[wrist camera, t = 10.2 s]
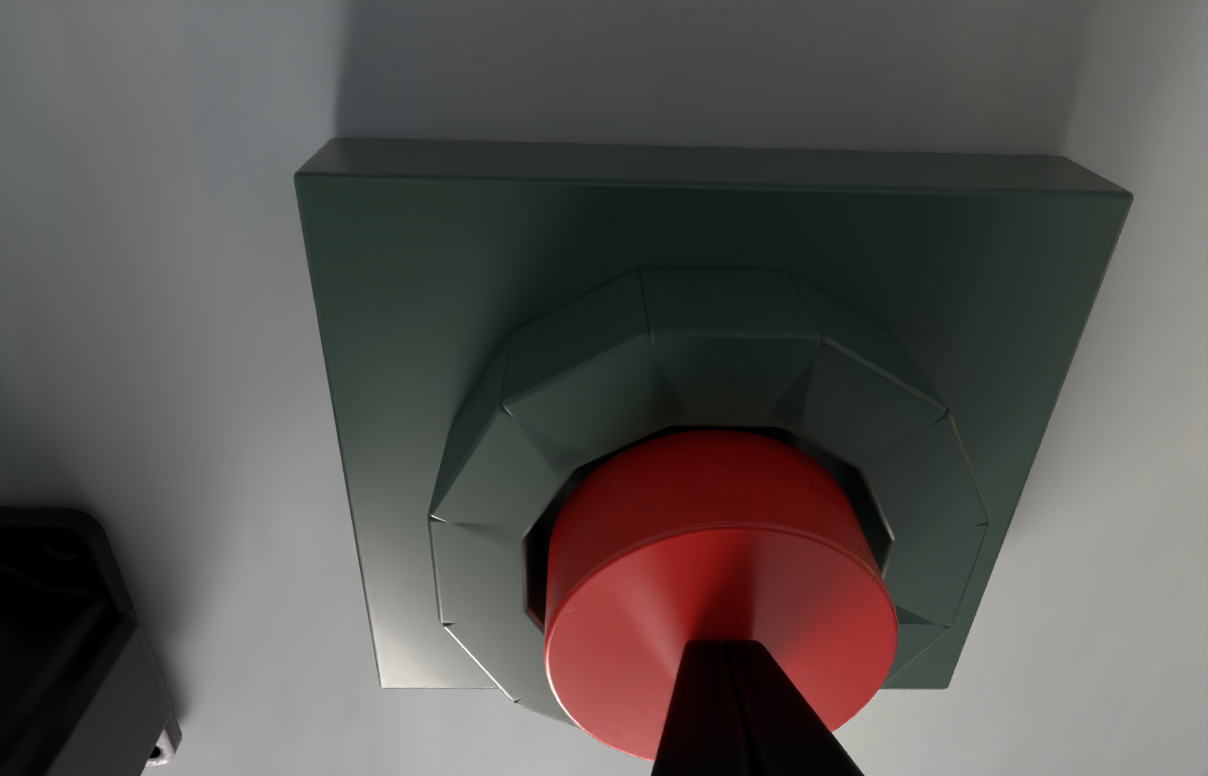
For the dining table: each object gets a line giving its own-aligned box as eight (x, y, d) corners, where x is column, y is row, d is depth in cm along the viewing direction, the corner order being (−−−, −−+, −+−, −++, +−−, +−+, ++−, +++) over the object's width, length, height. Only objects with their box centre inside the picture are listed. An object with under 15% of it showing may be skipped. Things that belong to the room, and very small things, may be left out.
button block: (398, 615, 15) (354, 789, 12) (330, 136, 11) (230, 226, 8) (915, 618, 16) (992, 787, 13) (1065, 154, 11) (1245, 249, 8)
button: (549, 656, 12) (543, 769, 10) (547, 424, 9) (541, 522, 8) (826, 657, 12) (861, 768, 10) (884, 429, 10) (939, 526, 8)
